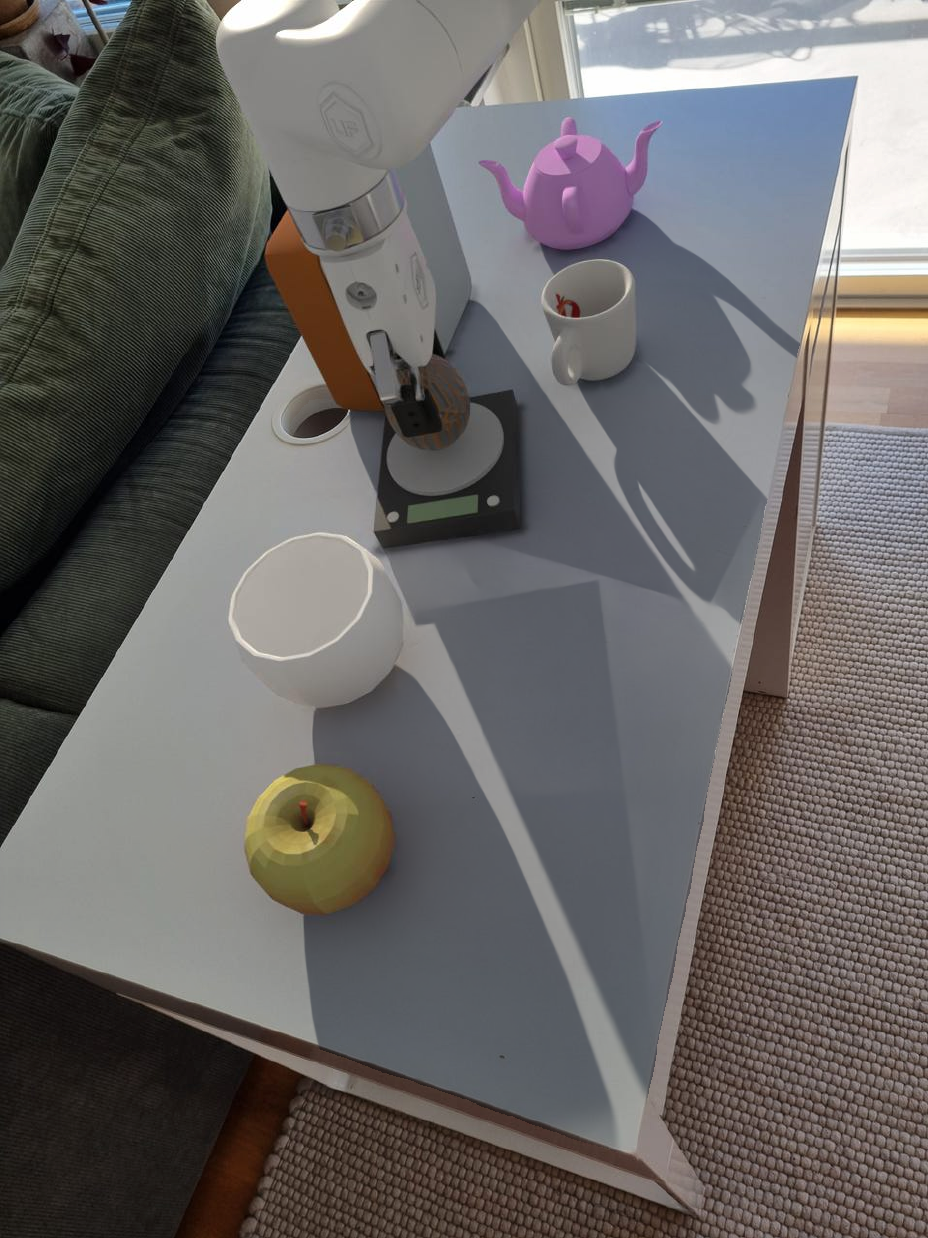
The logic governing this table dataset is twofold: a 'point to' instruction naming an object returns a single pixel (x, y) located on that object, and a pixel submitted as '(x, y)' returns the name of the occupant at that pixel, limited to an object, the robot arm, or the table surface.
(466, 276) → the alarm clock
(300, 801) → the apple
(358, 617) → the cup
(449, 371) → the vase
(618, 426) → the table surface
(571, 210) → the teapot
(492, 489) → the scale
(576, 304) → the cup
